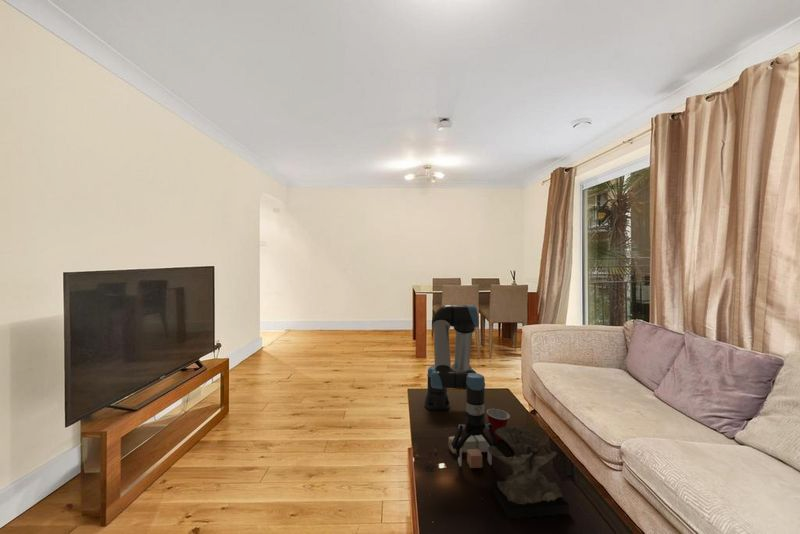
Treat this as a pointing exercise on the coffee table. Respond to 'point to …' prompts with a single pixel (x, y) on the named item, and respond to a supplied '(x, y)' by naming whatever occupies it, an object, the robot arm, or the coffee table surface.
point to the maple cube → (452, 447)
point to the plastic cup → (497, 419)
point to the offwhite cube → (481, 443)
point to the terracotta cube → (474, 458)
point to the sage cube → (470, 444)
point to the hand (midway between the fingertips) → (474, 463)
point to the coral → (526, 477)
